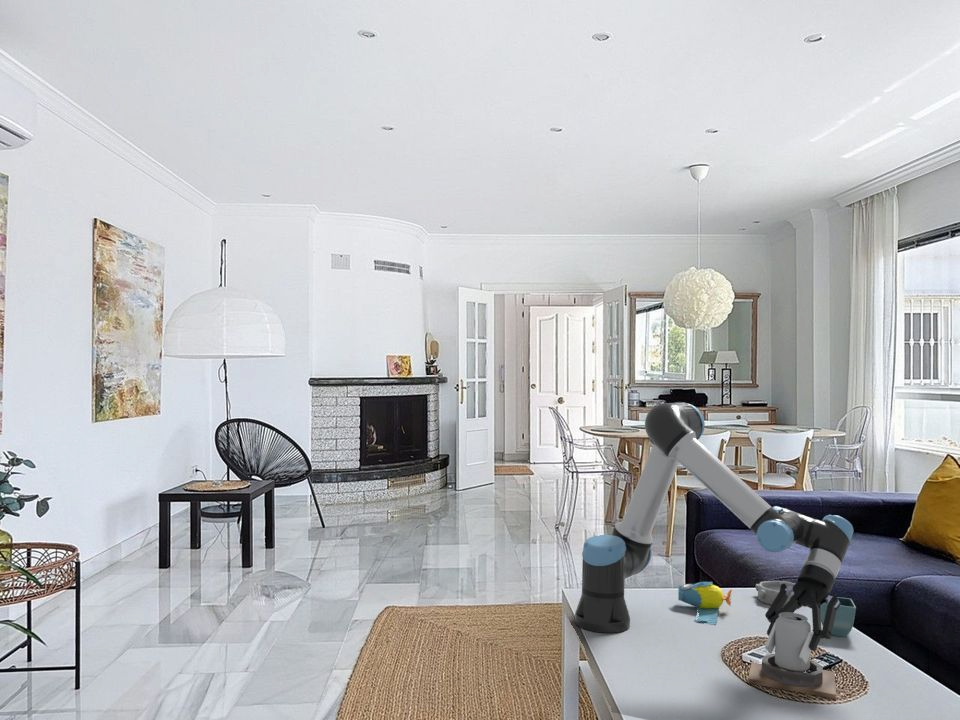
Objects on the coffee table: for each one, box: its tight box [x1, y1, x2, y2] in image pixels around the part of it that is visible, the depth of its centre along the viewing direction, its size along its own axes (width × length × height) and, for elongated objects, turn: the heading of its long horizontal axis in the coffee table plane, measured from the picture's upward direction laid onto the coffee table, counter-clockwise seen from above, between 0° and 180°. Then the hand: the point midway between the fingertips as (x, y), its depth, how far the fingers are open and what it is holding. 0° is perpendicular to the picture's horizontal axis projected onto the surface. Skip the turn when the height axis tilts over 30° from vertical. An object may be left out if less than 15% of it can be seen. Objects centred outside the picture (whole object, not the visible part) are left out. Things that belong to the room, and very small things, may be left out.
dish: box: [755, 580, 796, 608], centre depth 232 cm, size 14×14×5 cm
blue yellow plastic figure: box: [677, 581, 733, 626], centre depth 222 cm, size 28×9×15 cm
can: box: [774, 612, 812, 673], centre depth 171 cm, size 8×8×12 cm
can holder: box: [747, 653, 837, 700], centre depth 171 cm, size 18×14×4 cm
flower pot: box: [820, 595, 857, 638], centre depth 203 cm, size 9×9×9 cm
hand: (785, 654), depth 169 cm, fingers closed on can, 7 cm apart
